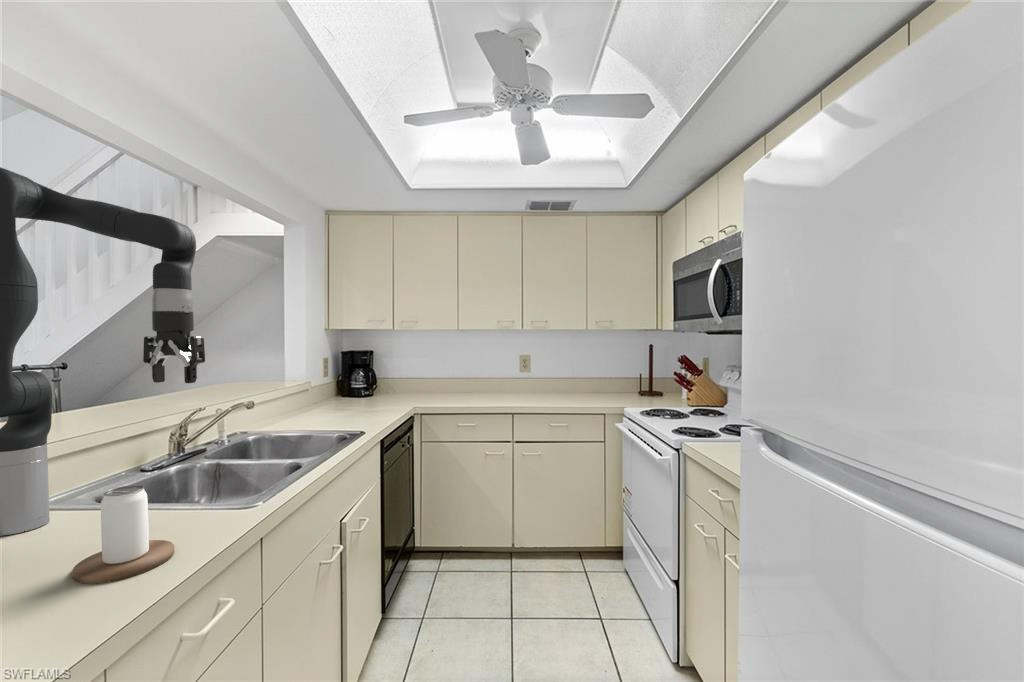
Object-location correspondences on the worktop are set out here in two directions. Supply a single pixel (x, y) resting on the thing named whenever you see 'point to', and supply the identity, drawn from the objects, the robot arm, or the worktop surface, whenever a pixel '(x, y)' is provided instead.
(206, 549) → the worktop surface
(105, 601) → the worktop surface
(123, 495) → the can
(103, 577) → the disc
